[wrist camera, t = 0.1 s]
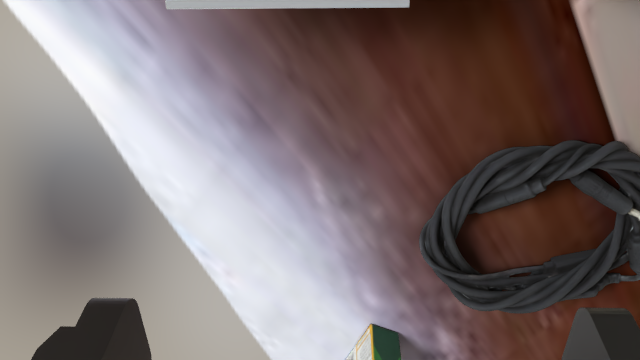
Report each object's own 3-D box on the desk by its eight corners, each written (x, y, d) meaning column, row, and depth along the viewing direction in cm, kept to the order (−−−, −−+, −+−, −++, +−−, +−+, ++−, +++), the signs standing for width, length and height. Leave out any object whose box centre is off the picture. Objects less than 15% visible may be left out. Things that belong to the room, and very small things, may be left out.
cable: (419, 285, 50) (424, 324, 47) (413, 142, 43) (419, 176, 39) (631, 273, 48) (653, 312, 45) (665, 122, 41) (696, 155, 37)
